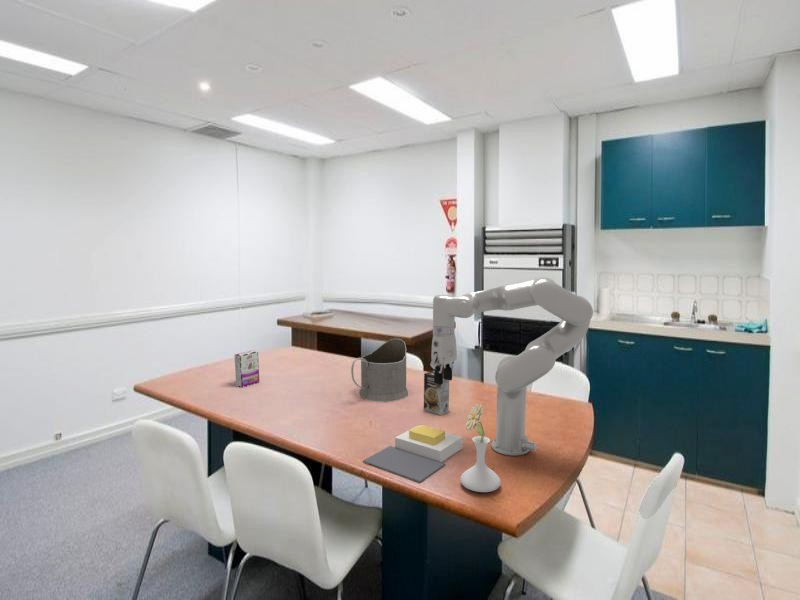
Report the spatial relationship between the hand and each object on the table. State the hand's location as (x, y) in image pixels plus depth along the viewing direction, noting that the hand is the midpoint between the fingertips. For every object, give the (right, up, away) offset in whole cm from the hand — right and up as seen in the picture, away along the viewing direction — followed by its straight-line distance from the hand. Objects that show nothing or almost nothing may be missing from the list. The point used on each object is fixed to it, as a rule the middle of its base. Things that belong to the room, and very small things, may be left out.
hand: (443, 381), depth 161 cm
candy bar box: (-93, -15, +72) cm, 118 cm away
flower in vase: (+7, -25, -31) cm, 40 cm away
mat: (-14, -23, -16) cm, 32 cm away
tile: (-6, -18, -6) cm, 20 cm away
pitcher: (-26, -17, +53) cm, 61 cm away
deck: (-5, -22, -5) cm, 23 cm away
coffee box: (0, -19, +32) cm, 37 cm away
